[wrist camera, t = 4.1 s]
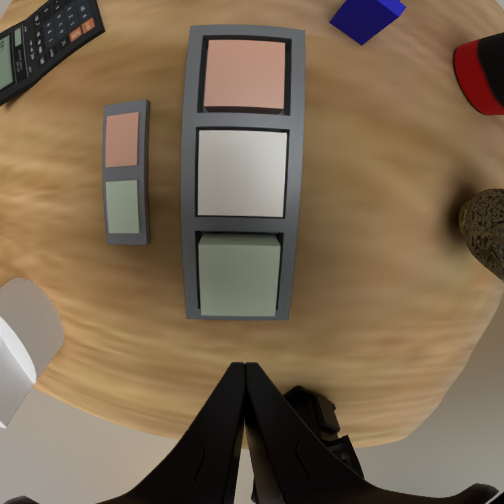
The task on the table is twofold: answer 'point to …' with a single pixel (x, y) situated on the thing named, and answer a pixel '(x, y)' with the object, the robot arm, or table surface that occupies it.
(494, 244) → the cup
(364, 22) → the cable clip
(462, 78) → the soda can
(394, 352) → the table surface
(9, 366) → the cylinder with rectangular tab
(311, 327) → the table surface
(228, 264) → the sage key
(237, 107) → the terracotta key
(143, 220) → the strip
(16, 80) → the calculator
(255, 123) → the keypad
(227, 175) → the cream key
